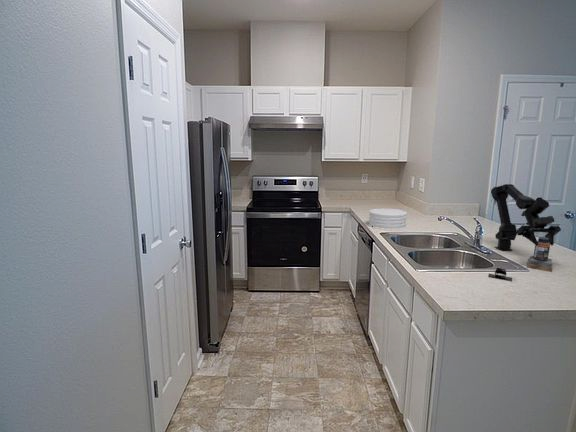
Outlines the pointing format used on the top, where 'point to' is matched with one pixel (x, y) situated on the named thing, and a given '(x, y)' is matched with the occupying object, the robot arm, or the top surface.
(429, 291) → the top surface
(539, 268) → the plate
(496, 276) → the black bar with hump
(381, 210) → the plate stack
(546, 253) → the supplement bottle
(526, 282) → the top surface
